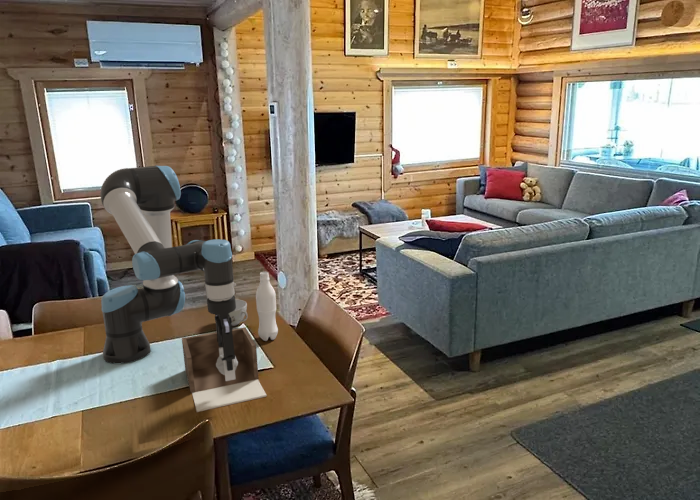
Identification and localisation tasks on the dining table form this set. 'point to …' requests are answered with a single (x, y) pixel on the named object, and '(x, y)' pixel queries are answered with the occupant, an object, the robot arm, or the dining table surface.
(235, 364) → the white sculpted head
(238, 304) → the teacup
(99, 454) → the dining table surface
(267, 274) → the water bottle
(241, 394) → the panel
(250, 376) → the crate
